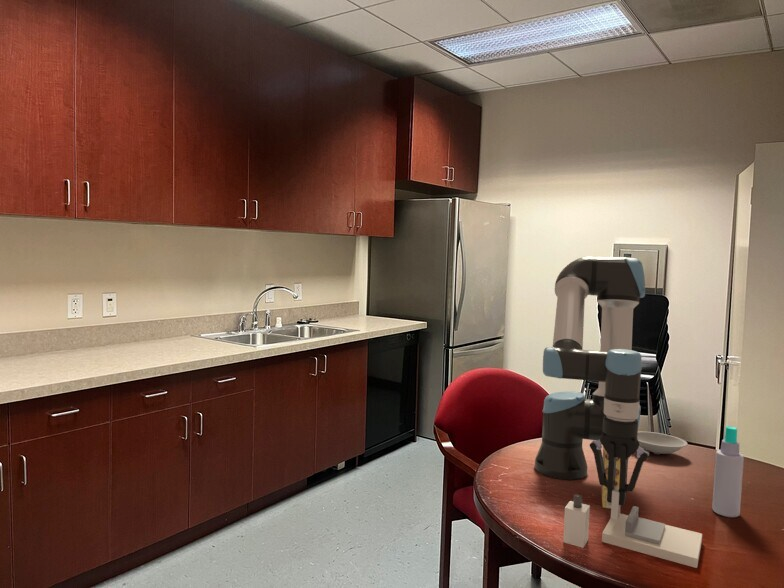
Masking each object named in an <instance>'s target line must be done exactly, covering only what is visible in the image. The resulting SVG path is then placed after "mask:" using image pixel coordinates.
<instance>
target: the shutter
mask: <svg viewBox="0 0 784 588" xmlns="http://www.w3.org/2000/svg"><path fill="white" fill-rule="evenodd" d="M639 510H640V509H639V506H636V505H635V506H634V505H633V506H632V508H631V510H630V512H629V514H628V515H629V516H628V518H627V520H626V526H625V535H626V536H629V537H633V538H637V539H641V540H644V541H648V542H652V543H656V544H660V541H661V538H662V535H663V532H664V529H665V525H666V523H664V522H658V521H655V520H651V519H648V518H643V517H639Z"/></svg>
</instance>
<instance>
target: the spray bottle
mask: <svg viewBox="0 0 784 588" xmlns="http://www.w3.org/2000/svg"><path fill="white" fill-rule="evenodd" d="M737 438H738V428H737V427H735V426H728V425H727V426H725V436H724V439H722V440H721V443H720V444H721V445H720V449H716V451H715V459H714V460H715V461H714V462H715V463H714V478H713V489H712V490H713V494H712V505H711V506H712V507H711V508H712V510H713V512H714V513H715V514H717V515H720V516H722V517H725V518H726V517H727V518H737V517H739V516H740V514H741V502H742V501H741V500H742V487H743V472H744V461H745V460H744V458H745V455H744V454H742V453H741V452H740V442H739V441H737V440H738V439H737Z"/></svg>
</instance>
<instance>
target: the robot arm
mask: <svg viewBox="0 0 784 588" xmlns="http://www.w3.org/2000/svg"><path fill="white" fill-rule="evenodd" d="M644 271H645V270H644V266H643V263H642V261H641V260H640V259H638V258H635V257H626V256H582V257H579V258H577V259H574V260H572V261H571V262H569V264H567V265H566V266H565V267H564V268H563V269H562V270H561V271H560V272H559V274H558V275H557V278H556V280H555V283H554V295H555V296H556V297H557V298H556V299H557V300H556V308H555V319H554V329H553V338H552V340H553V341H552V346H551V347H550V346H549V347H544V349H543V353H542V354H543V356H542V374H543V375H544V376H546V377H549V378H555V379H568V380H578V381H579V380H580V381H588V382H589V381H591V382H598V388H596V390H594V392H592V399H588V398H586V396H585V394H584V393H583V392H580V391H579V392H577V391H558V392H552V393H550V394H548V395H546V396H545V398H544V399H543V409H542V413H543V414H542V415H543V416H542V433H541V444H540V446H539V449H538V451H537V454H536V457H535V460H534V468H535V470H536V471H537V472H538V473H540V474H542V475H544V476H546V477H550V478H554V479H558V480H559V479H560V480H580V479H583V478H585V477H586V476H587V475H588V463H587V459H586V455H585V451H584V448H583V440H591V442H590V443H589V448H590V450H591V451H592V453H593V457H594V463H595V466H596V467H595V468H596V472H597V478H598V482H599V485H600V486H602V485H604V486H605V487H607V501H608V502H609V503H611V509H610V518H612V519H615V520H618V518H619V516H620V513H621V506H624V505H625V504H626V496H627V492H633V491H634V490H635V488H636V485H637V481H638V479H639V476H640V473H641V471H642V467H643V464H644V462H645V461H646V460H647V458H648V457H649V456H650V451H648V450H645V449H643V448H641V447H640V446H639V442H638V439H637V436H638V432H639V426H640V421H641V407H642V406H641V405H640V393H641V392H640V391H641V377H642V370H643V365H642V355H641V353H640V352H638V351H636V350H632V347H633V346H632V345H633V324H634V323H633V322H634V320H633V319H634V309H635V308H636V307H637V306H638V305H639V304H640V299H642V298H644V297H645V296H646V277H645V272H644ZM588 296H596V297H597V298H596V302H597V304H599V306H600V307H601V324H600V325H601V327H600V330H601V331H600V346H599V347H600V349H599V350H590V349H583V346H584V325H585V322H584V321H585V319H584V318H585V299H587V297H588ZM602 447H604V449H605V450H606V452H607V453H608V454H609V455H608V460H609V463H608V479H607V477H606V472H605V467H604V462H603V451H602V449H603V448H602ZM635 452H636V457H637V460H636V462H635V465H634V468H633V470H632V471H633V472H632V474H631V476H630V479H629V481H628V467H629V459H630V457H631V456H632V455H633V454H634V453H635ZM617 457H619V458H620V480H619V488H616V487H614V486H615V473H616V458H617Z"/></svg>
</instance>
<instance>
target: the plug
mask: <svg viewBox="0 0 784 588" xmlns="http://www.w3.org/2000/svg"><path fill="white" fill-rule="evenodd" d="M590 510H591V505H590V504H586V503H583V496H582V495H580V494H574V495H573V500H570V501H568V503H567V504H566V506H564V518H563V519H564V520H563V540H562V542H563V543H565V544H568V545H572V546H575V547H579V548H582V549H584V548H585V546H586V544H587V542H588V541H589V530H590V525H589V524H590Z"/></svg>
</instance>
